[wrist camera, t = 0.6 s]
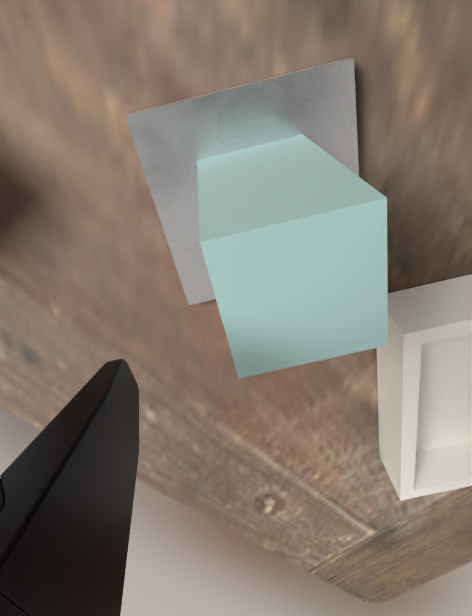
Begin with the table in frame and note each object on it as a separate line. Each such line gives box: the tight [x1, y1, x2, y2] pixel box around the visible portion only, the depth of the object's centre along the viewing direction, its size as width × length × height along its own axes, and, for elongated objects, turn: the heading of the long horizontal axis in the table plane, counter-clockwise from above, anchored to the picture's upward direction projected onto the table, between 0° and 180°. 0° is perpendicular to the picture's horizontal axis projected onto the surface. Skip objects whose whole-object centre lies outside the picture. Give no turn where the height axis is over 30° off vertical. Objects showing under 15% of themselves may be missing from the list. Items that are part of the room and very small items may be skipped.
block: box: [197, 135, 388, 378], centre depth 16 cm, size 5×5×10 cm
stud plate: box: [126, 58, 359, 305], centre depth 19 cm, size 10×10×4 cm
